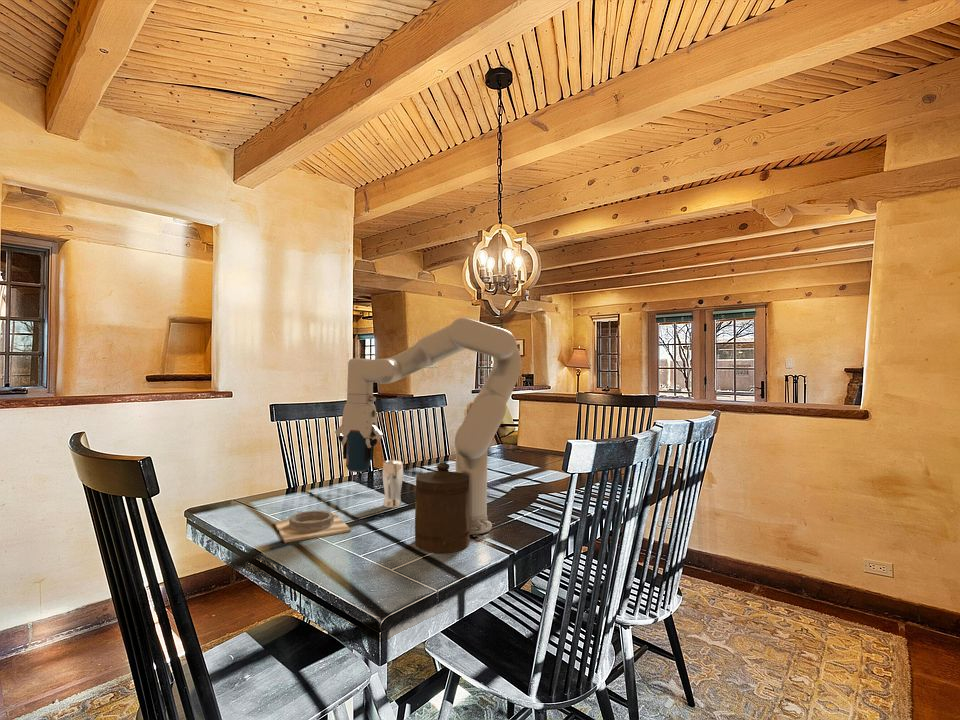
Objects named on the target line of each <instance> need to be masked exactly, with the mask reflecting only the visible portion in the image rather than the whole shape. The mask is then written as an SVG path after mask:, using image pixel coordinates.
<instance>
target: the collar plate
mask: <svg viewBox="0 0 960 720" xmlns="http://www.w3.org/2000/svg"><path fill="white" fill-rule="evenodd" d="M273 523H274V526H275V528H276V530H277V532H278V531H279V532H278V534H279V535H280V537H281V539H282V541H283V542H284V544H286V543H292V542H298V541H303V540H311V539H316V538H322V537H328V536H333V535H340V534H345V533H346V534H347V533H351V532H352V528H350V527H349V525H348V524H346V523H345V522H344V521H343V520H342V518H340V517H339V516H338V515H337V514H336V512H331V511H326V510H308V511H307V510H306V511H301V512H298V513H294V514H293V515H292V516H290V517H289V519H287V518H286V519H282V520H281V519H280V520H275V521H274V522H273Z"/></svg>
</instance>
